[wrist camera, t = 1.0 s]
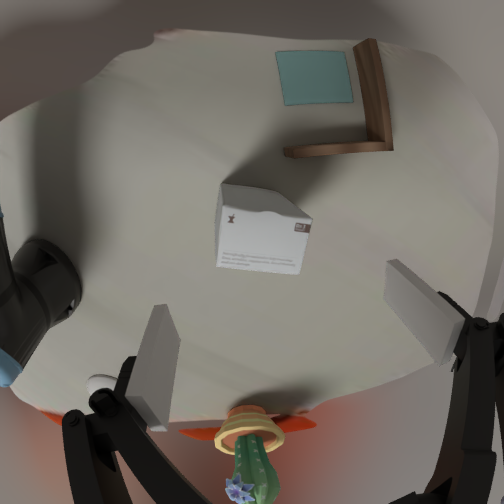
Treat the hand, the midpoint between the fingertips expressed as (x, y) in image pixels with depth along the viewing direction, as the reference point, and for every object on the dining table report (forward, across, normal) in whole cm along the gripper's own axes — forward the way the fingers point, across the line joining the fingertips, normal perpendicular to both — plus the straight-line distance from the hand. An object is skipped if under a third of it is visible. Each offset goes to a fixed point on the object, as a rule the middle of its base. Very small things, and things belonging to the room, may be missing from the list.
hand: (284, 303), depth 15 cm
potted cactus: (+24, -8, -47) cm, 54 cm away
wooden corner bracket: (+24, +13, +14) cm, 31 cm away
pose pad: (+24, +12, +17) cm, 32 cm away
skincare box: (+24, 0, 0) cm, 24 cm away
